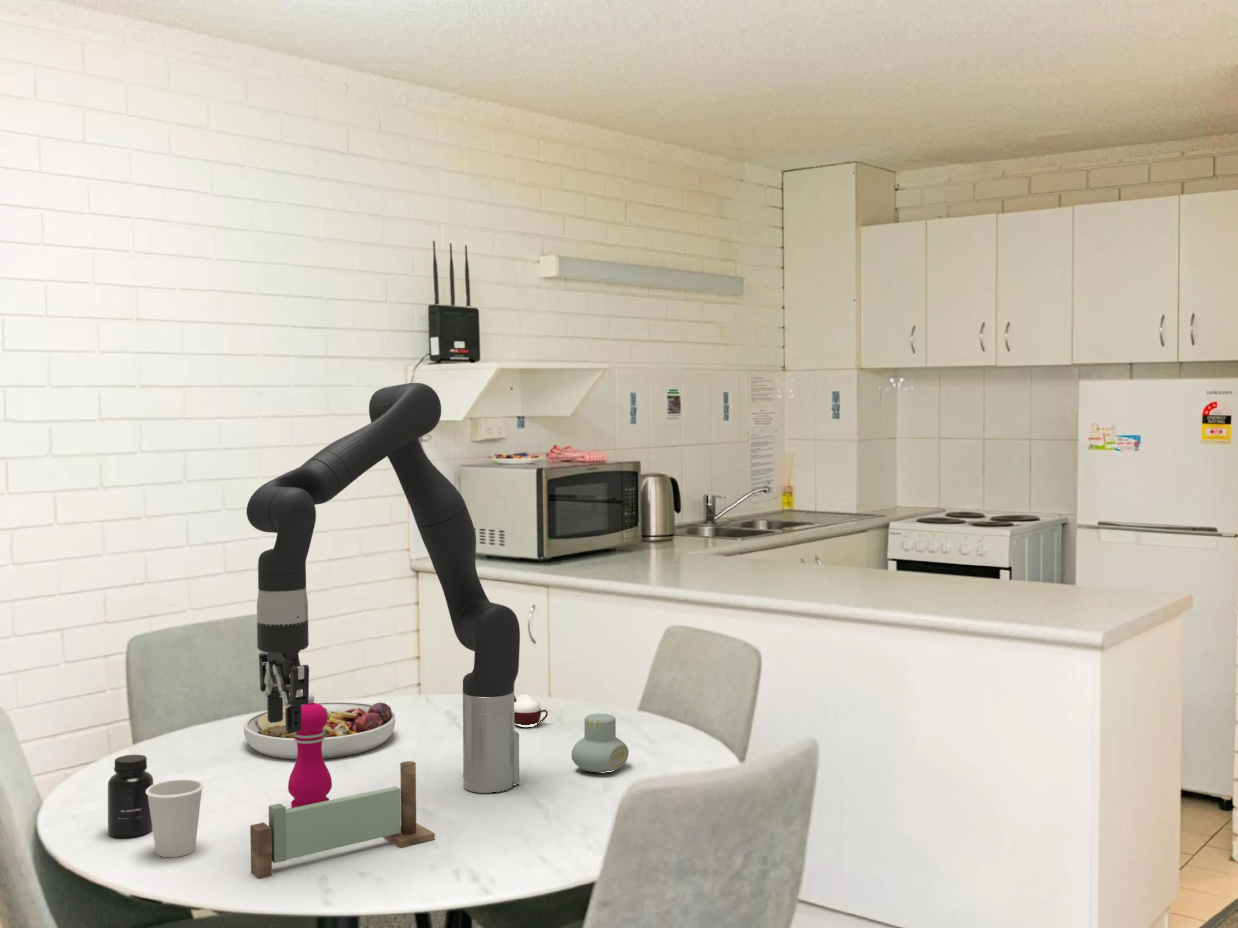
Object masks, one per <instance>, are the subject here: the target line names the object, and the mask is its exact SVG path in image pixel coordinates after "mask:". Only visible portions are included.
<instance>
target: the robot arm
mask: <svg viewBox="0 0 1238 928" xmlns="http://www.w3.org/2000/svg"><path fill="white" fill-rule="evenodd" d="M368 413H369V419H370V423H368V424H367V425H365V426H363V427H361V428H358V429H357V430H355V431H353V432H351V433H348V434H346V435H344V436H343V437H341V438H338V439H337V440H335V441H333V442H332V443H330V444H328V445H327V446H325V447H324V448H322V449H321V450H319V451H318V452H317V453H315V454H314V455H313V456H312V457H310V458H309V459H307V460H306V461H305V462H304V463H303V464H301V465H300V466H299V467H297V468H295V469H293V470H289V471H287V472H285V473H284V474H281V475H279V476H277V477H275V478H273V479H271V480H269V481H267V482H265V483H264V484H262V485H261V486H259V487H258V488H257V489H256V490H255V491H254V492H253V493H252V495H251V496H250V498H249V500H248V502H247V506H246V517H247V521H248V522H249V524H250V525H251V526H252V527H253V528H254V529H255V530H258V531H261V532H263V533H272V534H276V540H275V543H274V547H273V548H270V549H267V550H265V551H262V552H261V553H260V555H259V557H258V561H257V581H258V582H257V583H258V584H257V587H258V588H257V589H258V591H257V598H256V599H257V601H256V634H257V635H256V637H257V639H256V641H257V642H256V645H257V649H258V650H259V651H260V653H259V654H258V662H259V663H258V665H259V667H258V668H259V686H260V688H259V689H260V692H262V693H264V697H265V698H266V707H267V710H266V711H267V719H268V721H269V722H270V723H275V722H280V721H282V720H283V705H284V706H286V708H285V716H286V731H287V732H289V733H291V732H297V731H300V730H301V728H302V727H301V706H303V705H304V704H308V699H309V694H310V693H309V692H310V691H309V690H310V687H309V686H310V685H309V684H310V682H309V681H310V680H309V679H310V667H309V664H301V661H300V655H299V654H300V652H301V651H303V650H306V649H307V648H308V647H309V644H310V643H309V642H310V641H309V640H310V639H309V636H310V635H309V600H308V594H307V593H308V592H307V570H306V569H307V567H306V564H307V557H308V554H309V552H310V548H311V542H312V538H313V535H314V531H315V526H316V522H317V521H316V520H317V511H316V505H317V506H318V505H322V504H326V503H327V502H330V501H331V500H332V499H334V497H336V496H337V495H338V494H340V493H341V492H343V491H344V490H345V489H346V488H347V487H349V485H351V484H352V483H353V482H355V481H356V480H357V479H358V478H359V477H361V476H362V475H363V474H365V472H367V471H368V470H370V469H371V468H373V466H375V465H377V464H378V463H379V462H381V461H382V460H384V459H386V458H388V460H389V462H390V464H391V466H392V468H393V471H394V473H395V474H396V476H397V479H398V480H399V481H398V482H399V483H400V486H401V488H402V491H403V493H404V495H405V497H406V500H407V502H408V505H409V507H410V510H411V513H412V515H413V518H414V522H415V524H416V526H417V529H418V532H419V534H420V537H421V539H422V542H423V544H424V547H425V549H426V552H427V553H428V556H429V559H430V562H431V564H432V567H433V569H434V572H435V573H436V575H437V578H438V581H439V584H440V585H441V589H442V591H443V592H442V593H443V595H444V599H445V602H446V605H447V610H448V613H449V616H450V620H451V625H452V627H453V631H454V633H455V637H456V638H457V640H458V642H459V643H460V644H461V645H462V646H463V647H464V648H466V649H468V650H470V651H473V652H474V657H473V658H474V659H473V660H474V661H473V670H472V671H471V672H469V673H466V674H465V675H464V677H463V678H462V763H463V766H462V769H463V770H462V771H463V773H462V779H463V780H462V781H463V782H462V783H463V788H464V789H465V790H466V791H469V792H473V793H478V794H493V793H492V792H496V793H500V791H502V792H504V791H503V790H506V791H508V790H507V789H509V788H510V787H512V786H513V785H514V784H518V783H519V784H520V734H519V731H516V730H515V723H514V695H515V682H516V680H517V677H518V674H519V667H520V650H521V649H520V645H521V630H520V623H519V619H518V616H517V615H516V613H515V611H514V610H512V608H510V607H509V606H506V605H503V604H501V603H500V604H499V603H494V602H491V601H490V600H489V598H488V596H487V594H486V592H485V591H484V588H483V586H482V583H481V581H480V578H479V575H478V571H477V566H476V556H477V555H476V553H477V536H476V530H475V526H474V523H473V521H472V517H471V514H470V512H469V509H468V507H467V504H466V501H465V500H464V498H463V496H462V494H461V493H460V491H459V490H458V489H457V488H456V487H455V486H454V484H453V483H452V482H451V481H450V480H449V479H448V478H447V477H446V476H445V475H444V474H443V473H442V472H441V471H440V470H439V469H438V468H437V467H436V466H435V465H434V464H433V463H432V462H431V460H430V459H429V457H428V455H427V454H426V452H425V450H424V447H422V444H421V442H420V438H422V437H423V436H426V435H427V434H429V433H430V432H432V431H434V429H435V428H436V427H437V426H438V424H439V422H440V419H441V416H442V403H441V399H440V397H439V395H438V394H437V392H436V391H435V390H434V388H433V387H431V386H430V385H428V384H426V383H421V382H407V383H401V384H396V385H392V386H391V385H390V386H386V387H382V388H380V389H377V390H376V391H374V393H373V394H372V395H371V397H370V400H369V404H368ZM282 696H283V697H282ZM283 701H284V702H283ZM512 788H513V787H512ZM509 790H510V789H509Z"/></svg>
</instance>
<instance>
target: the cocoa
mask: <svg viewBox="0 0 1238 928" xmlns="http://www.w3.org/2000/svg"><path fill="white" fill-rule="evenodd" d="M544 712H545V716H544V717H543V718H541V715H542V713H544ZM548 712H549V711H547V710H546V709H541V703H540V701H539V700H538V699H537V698H536V697H534V696H533V695H531V694H527V693H526V694H525V693H524V694H520V695H517V697H516V695H515V694H514V724H515V723H516V724H521V725H530V724H535V723H538V722H539V721H542V722H543V721H545V719H546V718H547V717H548V715H549V713H548ZM516 724H515V725H516ZM538 724H539V723H538Z"/></svg>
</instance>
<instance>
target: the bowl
mask: <svg viewBox="0 0 1238 928" xmlns="http://www.w3.org/2000/svg"><path fill="white" fill-rule="evenodd" d="M317 703H318V704H320V705H322V706H323V707H324V708H325V710H326V712H327V723H326V725H325V726H324V727H323V729H322V730H324V732H325V733H324V737H325V739H324V740H323V741H322V756H323V760H325V759H327V760H328V759H336V758H344V757H348V756H352V755H357V754H361V753H364V752H368V751H370V750H372V749H374V748H375V749H376V748H377V747H379V746H380V745H382V744H383V743H385V742H386V741H387V740H388V739H389V737H391V736H392V734H393V732H394V730H395V726H396V713H394V711H393V710H392V708H391V706H389V704H387V703H385V702H376V703H373V704H371V703H366V702H365V703H363V702H353V701H352V702H351V701H324V702H317ZM285 708H286V706H285V705H284V706H283V720H282V721H280V722H275V723H270V722H269V721H268V719H267V710H265V711H262V712H259V713H257V714H255V715H252V716H251V717H249V718H247V720H246V721H245V722H244V724H243V733H244V734H243V735H244V737H245V740H246V742H247V744H248V745H250V747H251V748H252V749H253V750H255V751H257V752H258V753H261V754H263V755H265V756H269V757H273V758H277V759H285V760H296V759H297V750H298V748H297V742H295V741H294V738H295V736H294V733H295V732H291V733H289V732H287V731H286V716H285Z"/></svg>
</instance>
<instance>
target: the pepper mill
mask: <svg viewBox="0 0 1238 928" xmlns="http://www.w3.org/2000/svg"><path fill="white" fill-rule="evenodd" d="M318 703H319V702H315V696H314V695H313V694H311V693H309V699H308V704H304V705H303V706H301V727H302V728H301V730H300V731H297V732H295V733H294V736H295V738H294V741H295V742H297V748H298V750H297V759H295V763H294V766H293V768H292V771H291V772H290V775H289V779H288V784H287V790H288V793H289V794H290V795H291V797H292V798H293V800H292V801H291V802H290V803H291V807H290V808H295V807H300V806H304V805H309V804H314V803H319V802H323V801H328V800H330V799H329V797H328V794H329V793H330V792H331V790H332V788H333V782H332V780H333V779H332V776H331V773H330V770H329V769H328V766H327V765H326V763H325V759H323V756H322V741H323V740H324V739H325V737H324V733H325V732H324V730H322V729H323V727H324V726H325V725H326V723H327V712H326V710H325V708H324V707H323V706H322V705H320V704H318Z"/></svg>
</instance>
